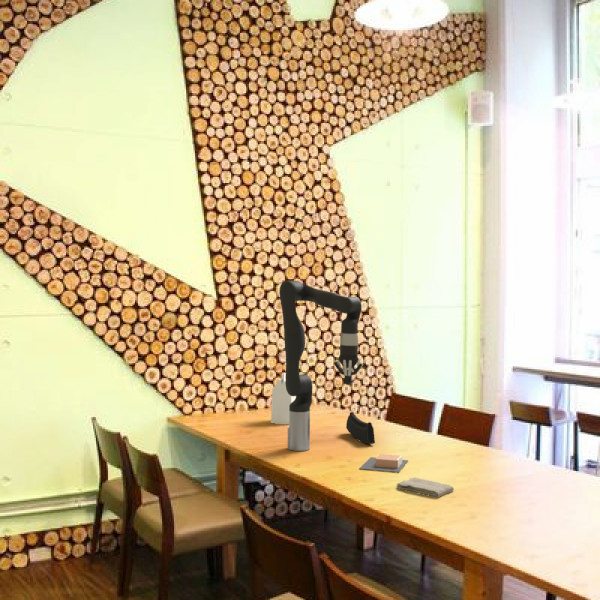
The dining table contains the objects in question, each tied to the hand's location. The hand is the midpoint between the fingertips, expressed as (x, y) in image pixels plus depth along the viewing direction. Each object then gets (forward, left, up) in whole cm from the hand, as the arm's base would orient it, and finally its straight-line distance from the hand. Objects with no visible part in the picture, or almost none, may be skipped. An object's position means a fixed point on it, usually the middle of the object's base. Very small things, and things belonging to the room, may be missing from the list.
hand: (348, 384), depth 311 cm
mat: (+18, -8, -31) cm, 37 cm away
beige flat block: (+15, -8, -29) cm, 34 cm away
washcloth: (+39, -38, -32) cm, 63 cm away
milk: (-52, +66, -31) cm, 90 cm away
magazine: (-4, +37, -32) cm, 49 cm away
